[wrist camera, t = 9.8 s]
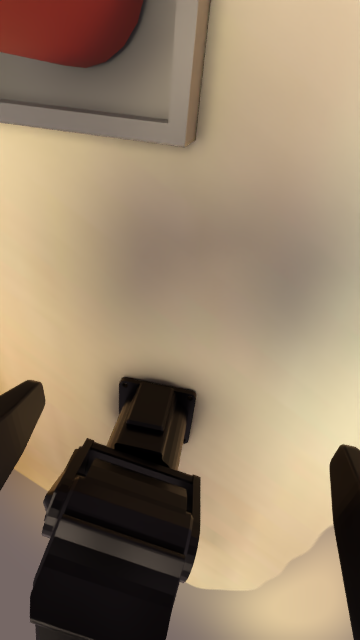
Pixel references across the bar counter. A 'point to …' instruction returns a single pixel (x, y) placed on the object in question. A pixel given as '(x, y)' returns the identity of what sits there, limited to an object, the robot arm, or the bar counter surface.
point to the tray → (119, 82)
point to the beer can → (67, 29)
